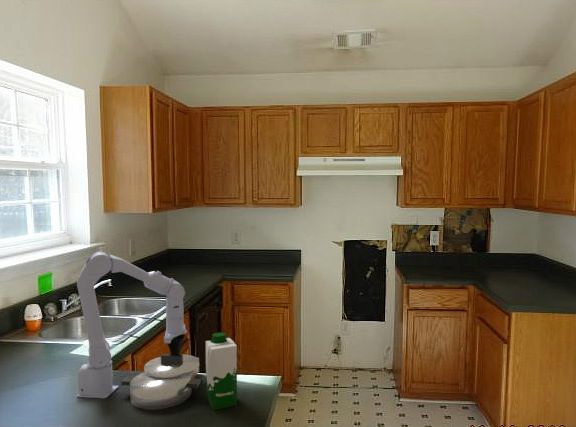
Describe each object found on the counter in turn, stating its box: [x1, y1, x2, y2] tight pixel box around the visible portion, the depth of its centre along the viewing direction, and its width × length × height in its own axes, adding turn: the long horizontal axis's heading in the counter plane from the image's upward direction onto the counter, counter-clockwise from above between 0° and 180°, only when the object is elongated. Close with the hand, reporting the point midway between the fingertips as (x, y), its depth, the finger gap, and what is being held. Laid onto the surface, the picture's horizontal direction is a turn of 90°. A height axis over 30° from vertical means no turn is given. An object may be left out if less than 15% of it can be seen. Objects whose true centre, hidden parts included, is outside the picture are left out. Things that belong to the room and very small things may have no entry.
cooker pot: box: [120, 357, 202, 410], centre depth 137 cm, size 24×28×5 cm
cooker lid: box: [143, 353, 200, 378], centre depth 141 cm, size 18×18×4 cm
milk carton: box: [205, 332, 238, 411], centre depth 127 cm, size 9×9×20 cm
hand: (175, 357), depth 144 cm, fingers closed
